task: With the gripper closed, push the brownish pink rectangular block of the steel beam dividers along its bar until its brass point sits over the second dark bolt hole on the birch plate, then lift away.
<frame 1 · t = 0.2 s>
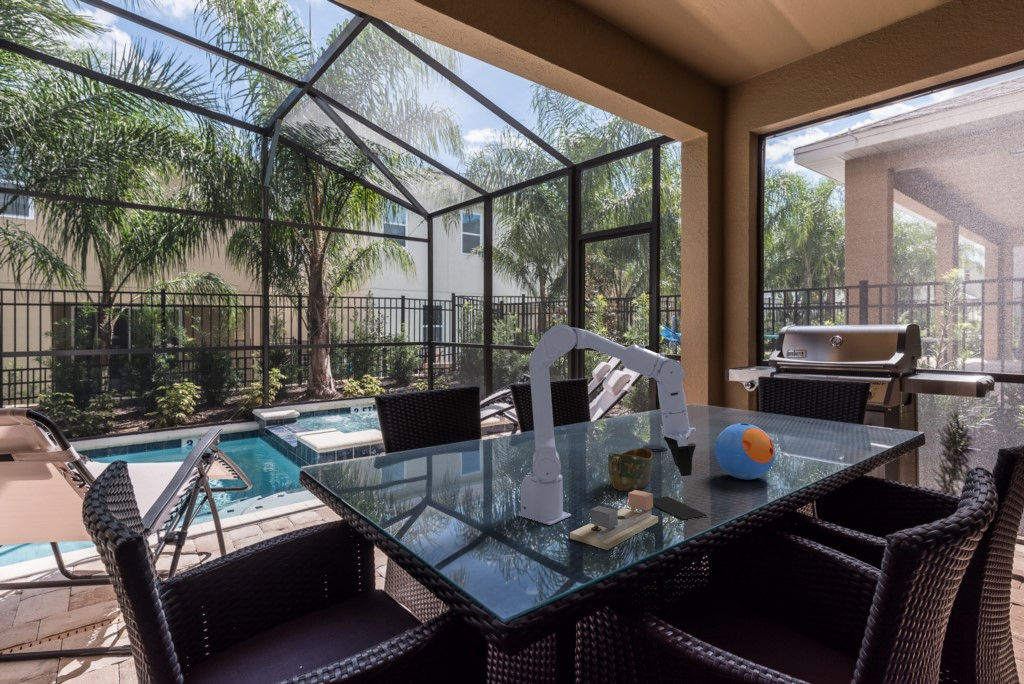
hand: (683, 470, 122), 10 cm above the table, tool pointing down, fingers open, 7 cm apart
cup: (630, 486, 147), on the table
brownish pink rectangular block: (640, 502, 121), point 4 cm above the table, slide at 5.5 cm
hole plate: (615, 529, 115), on the table
smartphone: (674, 511, 127), on the table
treat dispenser ball: (744, 479, 151), on the table
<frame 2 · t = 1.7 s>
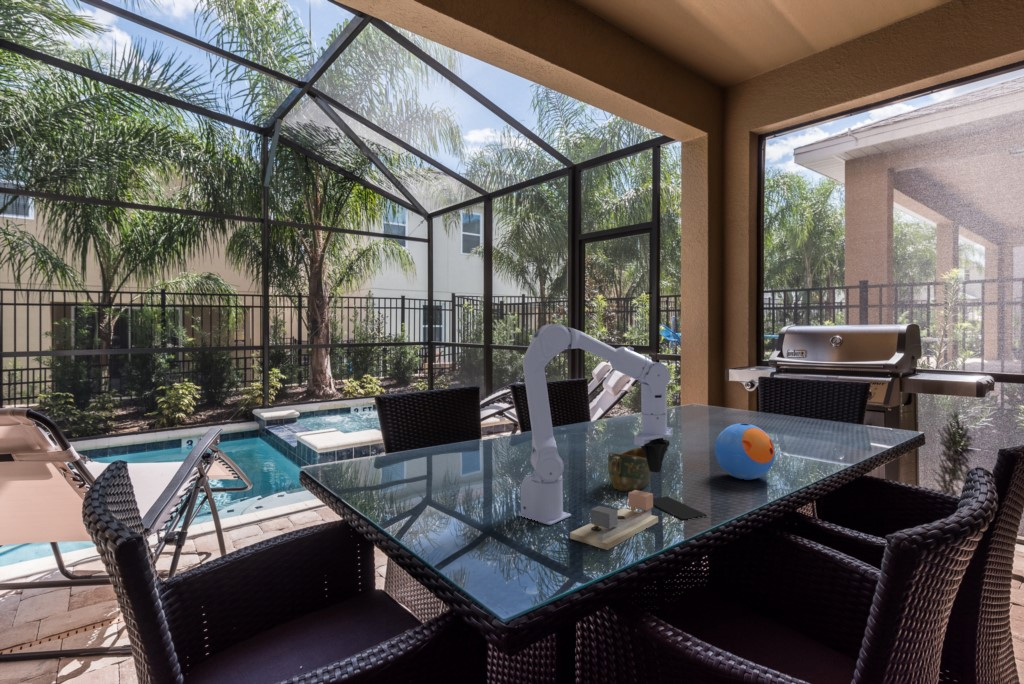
hand: (654, 471, 126), 9 cm above the table, tool pointing down, fingers closed
nothing on the table moved.
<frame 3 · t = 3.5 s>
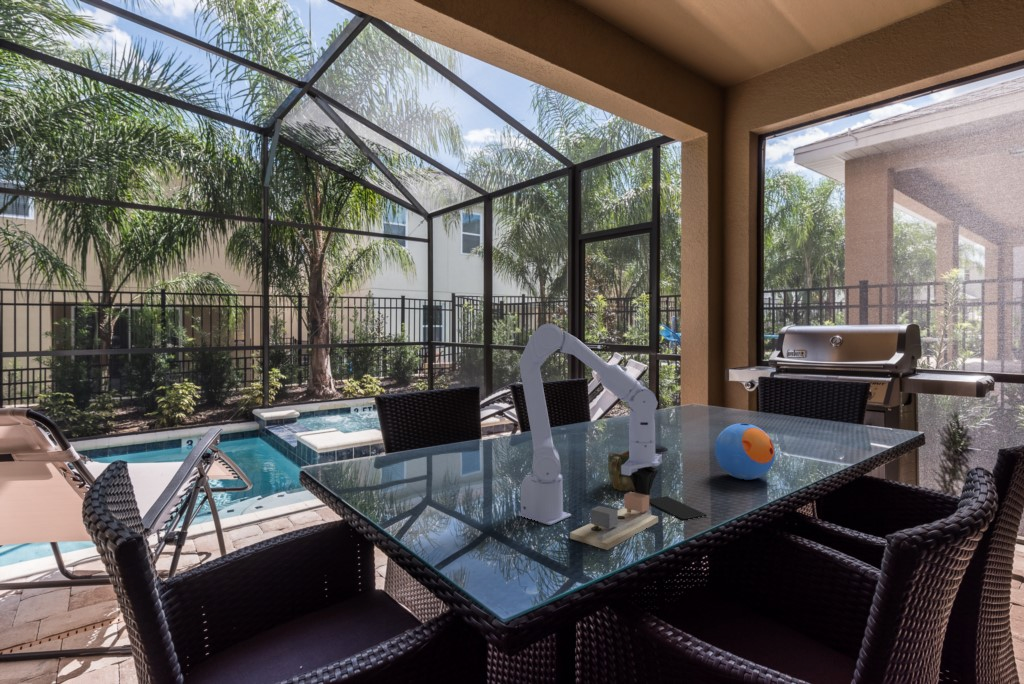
hand: (642, 500, 122), 4 cm above the table, tool pointing down, fingers closed
brownish pink rectangular block: (636, 504, 120), point 4 cm above the table, slide at 3.8 cm, touching gripper
everything else where it was.
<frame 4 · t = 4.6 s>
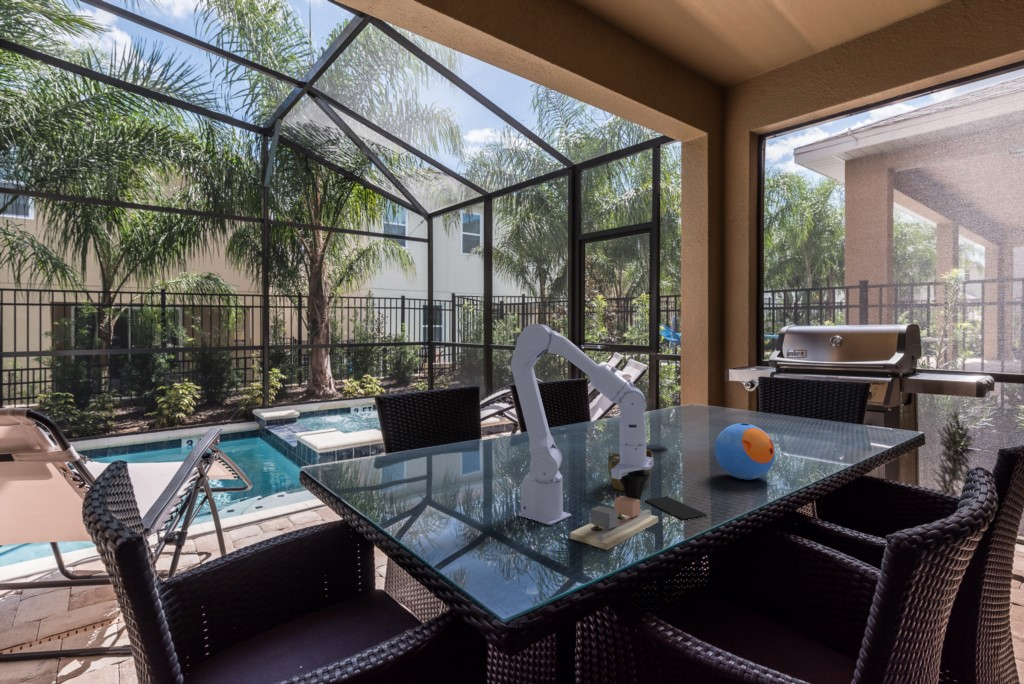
hand: (633, 504, 119), 4 cm above the table, tool pointing down, fingers closed
brownish pink rectangular block: (626, 508, 117), point 4 cm above the table, slide at -0.2 cm, touching gripper
everything else where it was.
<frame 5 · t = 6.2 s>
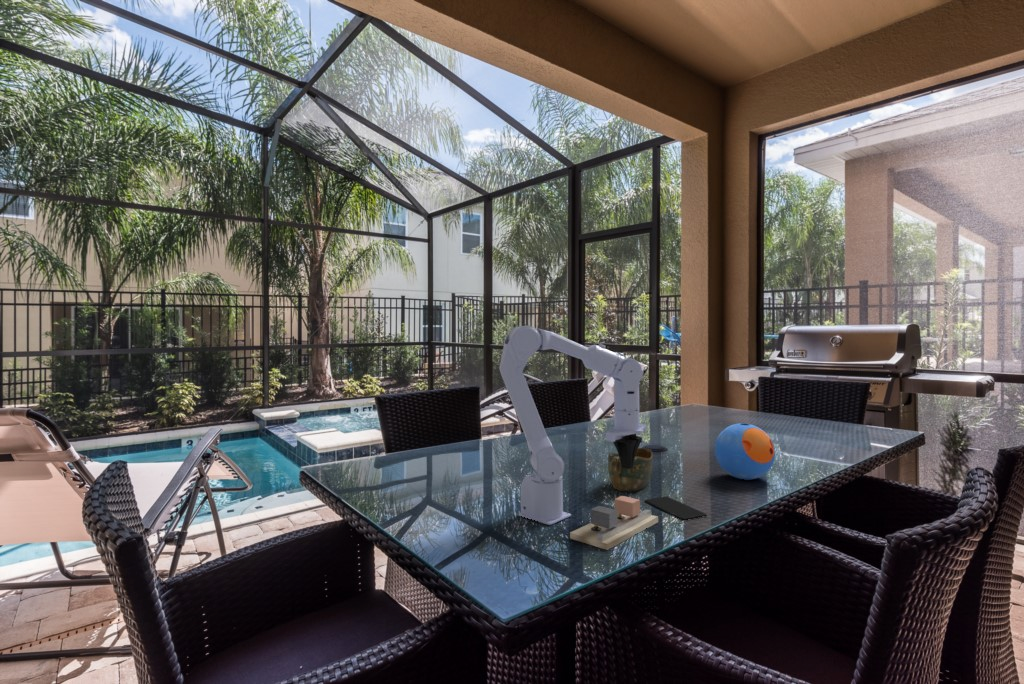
hand: (627, 467, 126), 10 cm above the table, tool pointing down, fingers closed
brownish pink rectangular block: (626, 508, 117), point 4 cm above the table, slide at -0.2 cm
everything else where it was.
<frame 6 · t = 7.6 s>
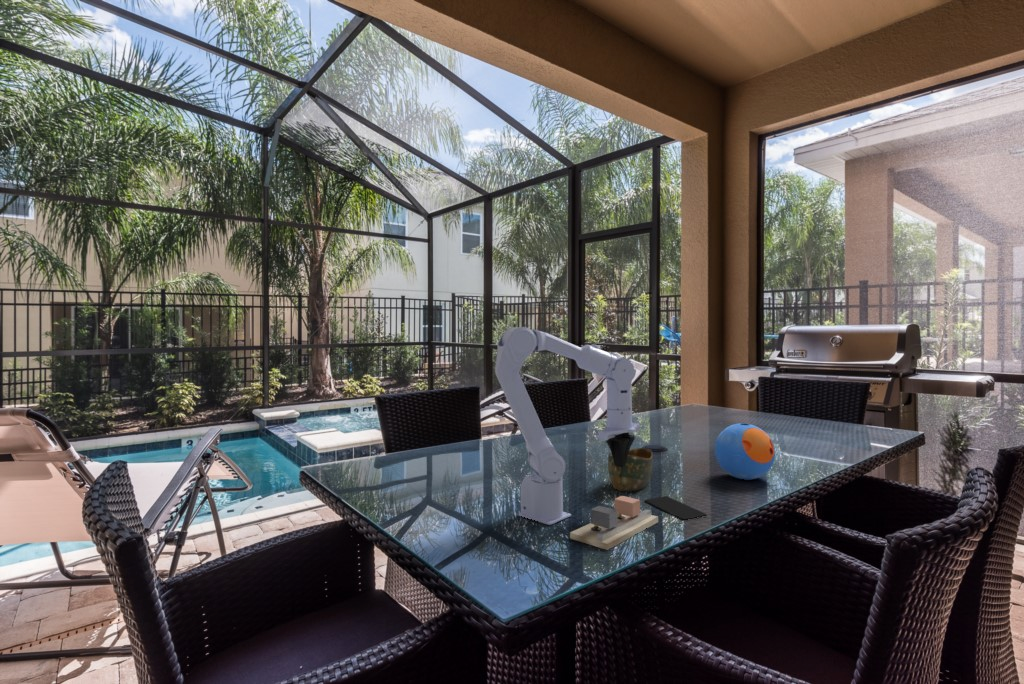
hand: (620, 466, 127), 10 cm above the table, tool pointing down, fingers closed
nothing on the table moved.
at the end: brownish pink rectangular block slide at -0.2 cm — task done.
